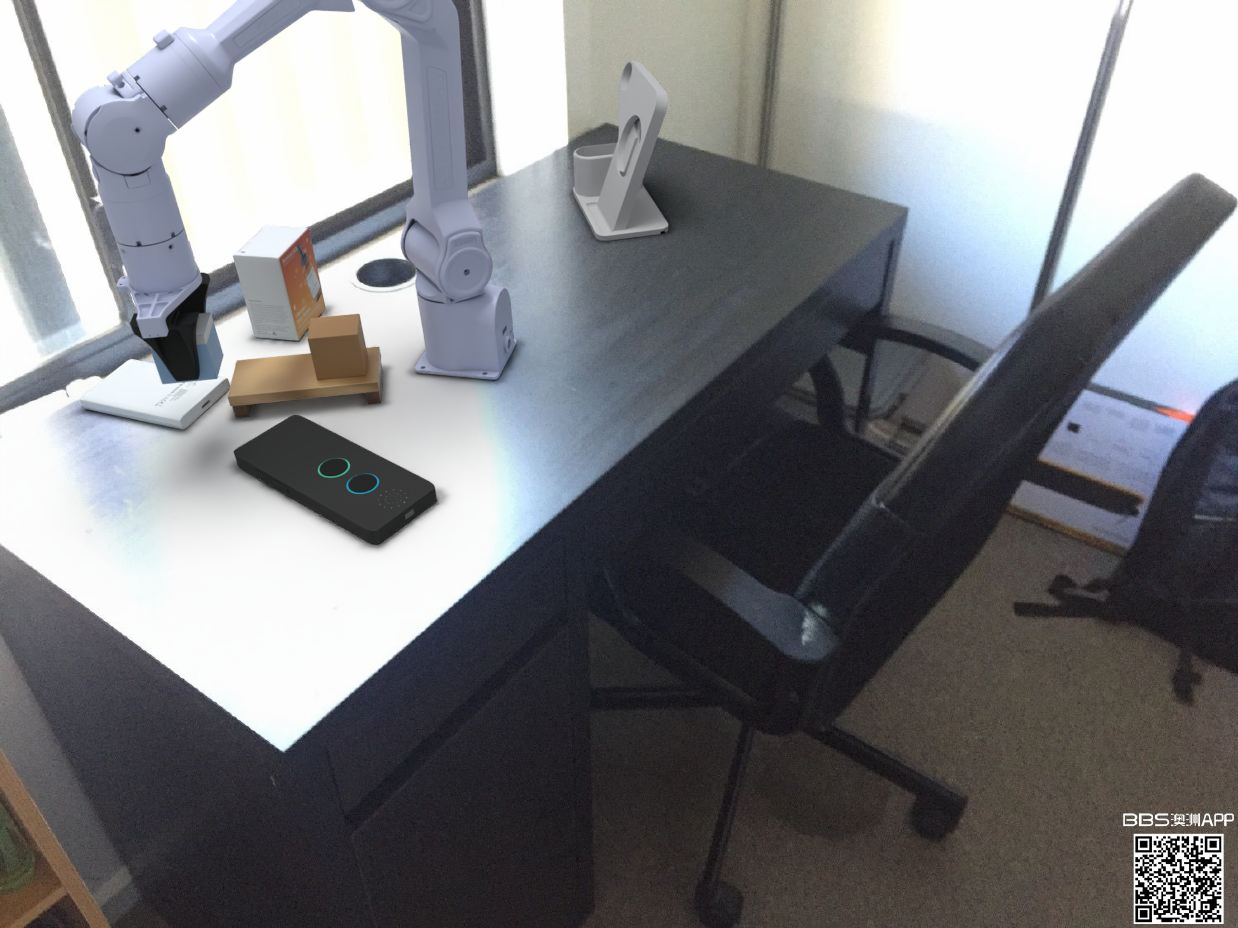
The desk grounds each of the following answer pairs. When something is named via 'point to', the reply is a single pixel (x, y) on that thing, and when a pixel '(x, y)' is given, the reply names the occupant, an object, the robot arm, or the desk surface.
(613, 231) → the phone holder
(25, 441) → the desk surface
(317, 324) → the brown carton
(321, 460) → the smart home device
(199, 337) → the blue carton
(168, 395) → the hard drive
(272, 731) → the desk surface
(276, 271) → the small box
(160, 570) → the desk surface
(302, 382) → the wooden stand
